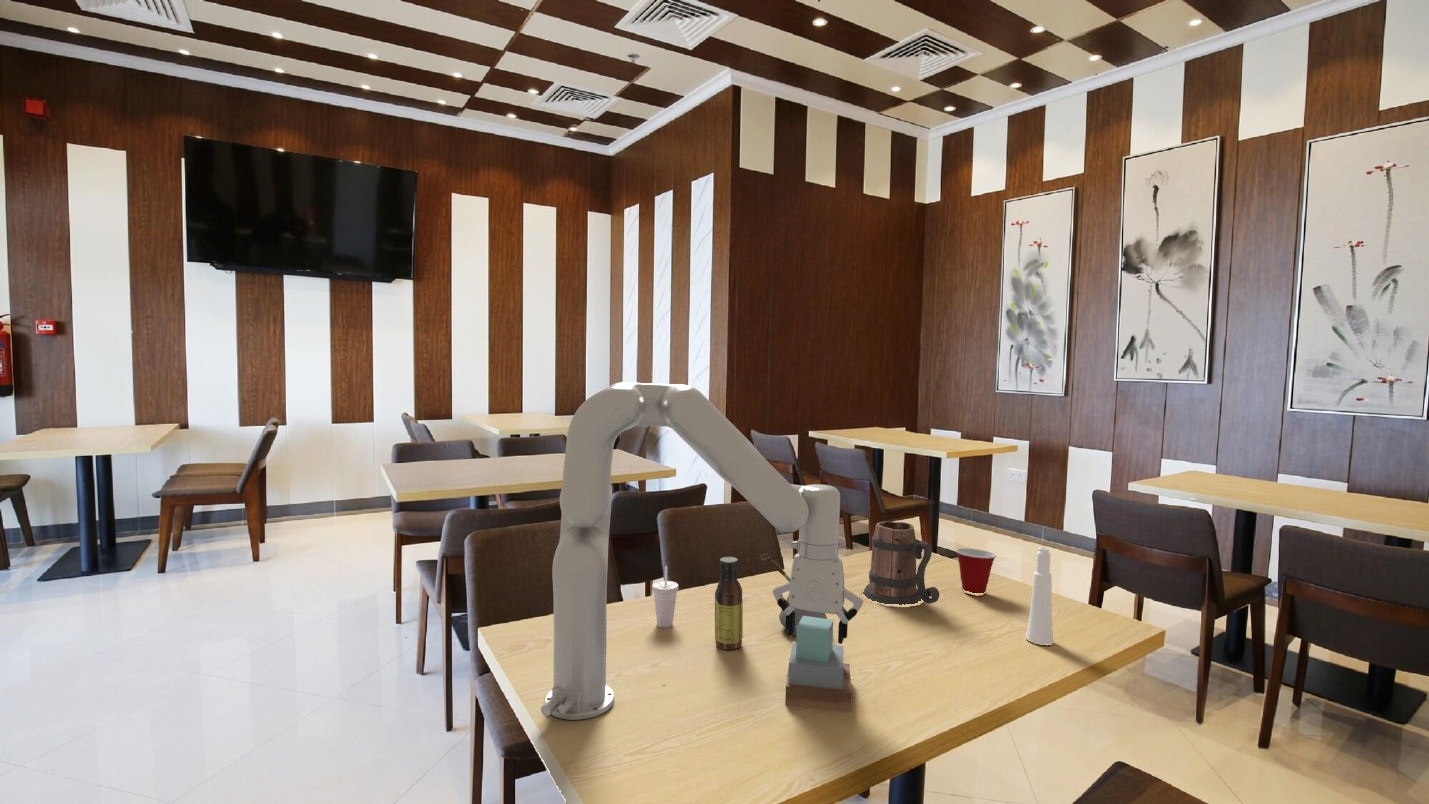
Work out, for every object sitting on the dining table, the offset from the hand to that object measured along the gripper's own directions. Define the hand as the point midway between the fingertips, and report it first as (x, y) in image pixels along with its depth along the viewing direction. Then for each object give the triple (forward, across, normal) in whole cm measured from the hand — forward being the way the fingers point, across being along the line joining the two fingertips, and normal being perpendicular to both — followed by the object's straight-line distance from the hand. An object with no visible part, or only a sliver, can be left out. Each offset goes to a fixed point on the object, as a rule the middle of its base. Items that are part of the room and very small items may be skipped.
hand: (815, 637), depth 129 cm
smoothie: (+11, -40, +20) cm, 46 cm away
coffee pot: (+11, -12, +32) cm, 36 cm away
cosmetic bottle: (+11, +45, +43) cm, 63 cm away
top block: (+7, 0, 0) cm, 7 cm away
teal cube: (+3, 0, 0) cm, 3 cm away
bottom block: (+11, +1, 0) cm, 11 cm away
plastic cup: (+11, +32, +73) cm, 80 cm away
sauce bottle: (+11, -22, +14) cm, 28 cm away
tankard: (+11, +13, +59) cm, 61 cm away
